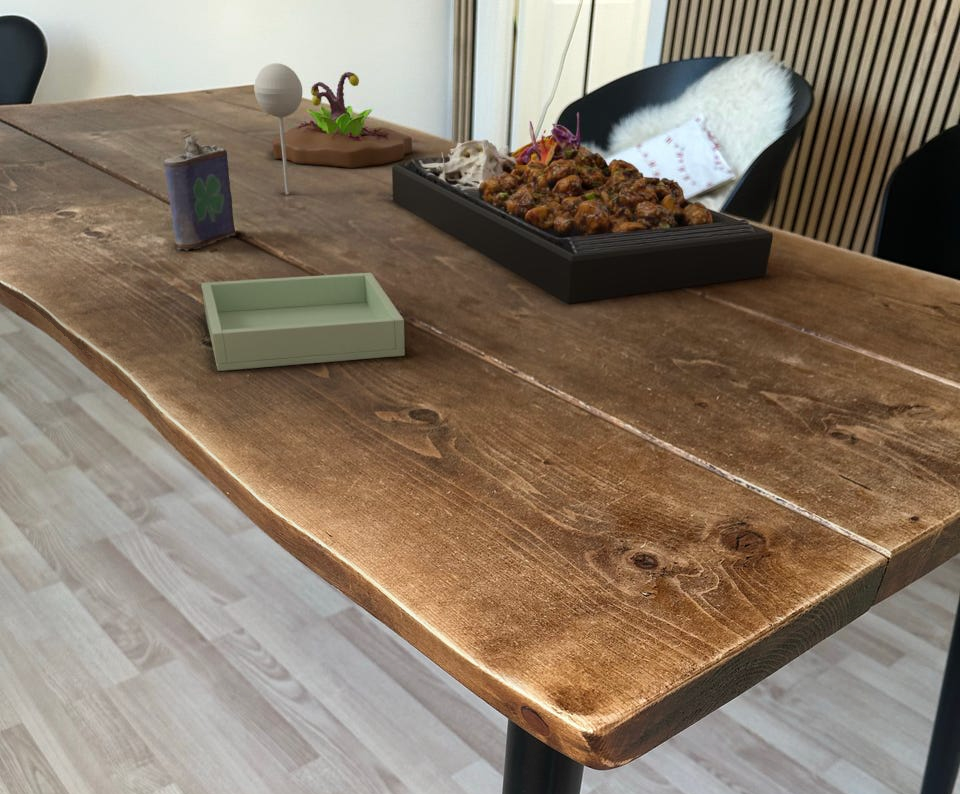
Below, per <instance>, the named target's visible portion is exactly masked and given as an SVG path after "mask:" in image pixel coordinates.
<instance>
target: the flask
mask: <svg viewBox="0 0 960 794" xmlns="http://www.w3.org/2000/svg"><path fill="white" fill-rule="evenodd" d="M183 140H185V146H184V147H183V148H184V150H185V152H186V153H181V154H178V155H176V156H172V157H168V158H166V159H164V160H163V167H164V168H163V169H164V172H165V173H164V174H165V180H166V185H167V192H168V199H169V205H170V211H171V217H172V227H173V233H174V241H175V246H176V248H177V250H179V251H180V250H185V251H186V252H187V251H190V250H191V249H193V250H196V249H200V248H202V247H204V246H207V245H211V244H213V243H215V242H216V241H218V240H220V241H222V240H223V239H225V238H229V237H231V236H235V235H236V232H237V231H236V228H235V221H234V220H235V219H234V215H233V214H234V213H233V198H232V197H233V196H232V192H231V181H230V173H229V172H230V171H229V169H230V168H229V161H228V160H229V159H228V151H227V150H226V149H225V148H223V147H219V146H218V145H216V144H215V145H212V144H203V145H199V143H197V141H199V138H198V137H196V136H195V135H194V134H193V135H191V134H190V133H187V134H185V135H183V136H182V137H180V141H183Z"/></svg>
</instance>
